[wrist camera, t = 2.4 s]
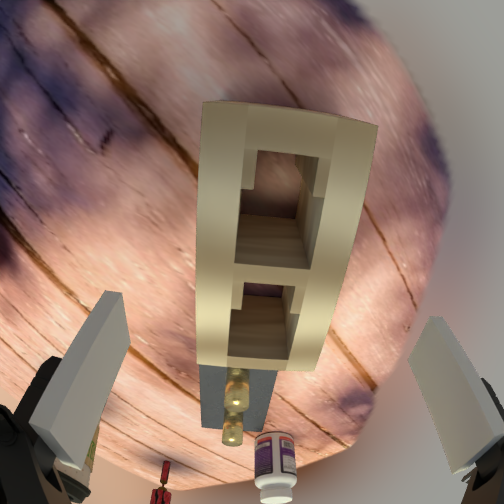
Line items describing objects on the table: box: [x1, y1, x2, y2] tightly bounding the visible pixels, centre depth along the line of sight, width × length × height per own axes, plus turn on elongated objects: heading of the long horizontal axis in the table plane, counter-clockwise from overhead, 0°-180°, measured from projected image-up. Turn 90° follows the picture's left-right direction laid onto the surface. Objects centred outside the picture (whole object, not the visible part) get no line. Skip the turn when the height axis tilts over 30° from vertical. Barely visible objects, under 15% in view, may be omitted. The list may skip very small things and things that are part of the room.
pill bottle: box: [255, 432, 297, 504], centre depth 34 cm, size 5×5×10 cm
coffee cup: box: [54, 414, 102, 503], centre depth 28 cm, size 10×10×15 cm
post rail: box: [199, 364, 278, 447], centre depth 28 cm, size 16×7×6 cm, turn 174°
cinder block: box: [196, 101, 378, 371], centre depth 20 cm, size 16×8×7 cm, turn 174°
